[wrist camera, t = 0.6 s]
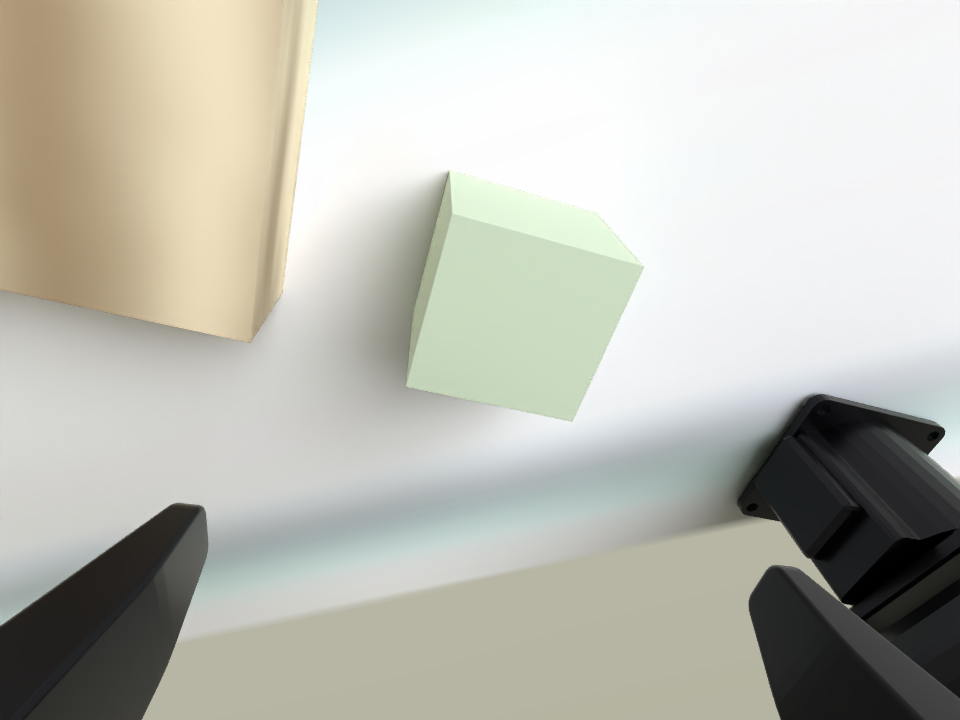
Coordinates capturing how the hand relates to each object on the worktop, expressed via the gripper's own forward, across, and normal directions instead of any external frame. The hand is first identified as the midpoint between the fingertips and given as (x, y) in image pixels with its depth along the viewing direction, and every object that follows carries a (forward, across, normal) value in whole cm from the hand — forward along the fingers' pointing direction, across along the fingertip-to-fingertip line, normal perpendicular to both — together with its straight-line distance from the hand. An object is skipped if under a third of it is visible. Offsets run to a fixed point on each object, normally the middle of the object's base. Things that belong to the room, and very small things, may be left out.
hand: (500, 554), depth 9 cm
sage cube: (+12, -1, -1) cm, 12 cm away
